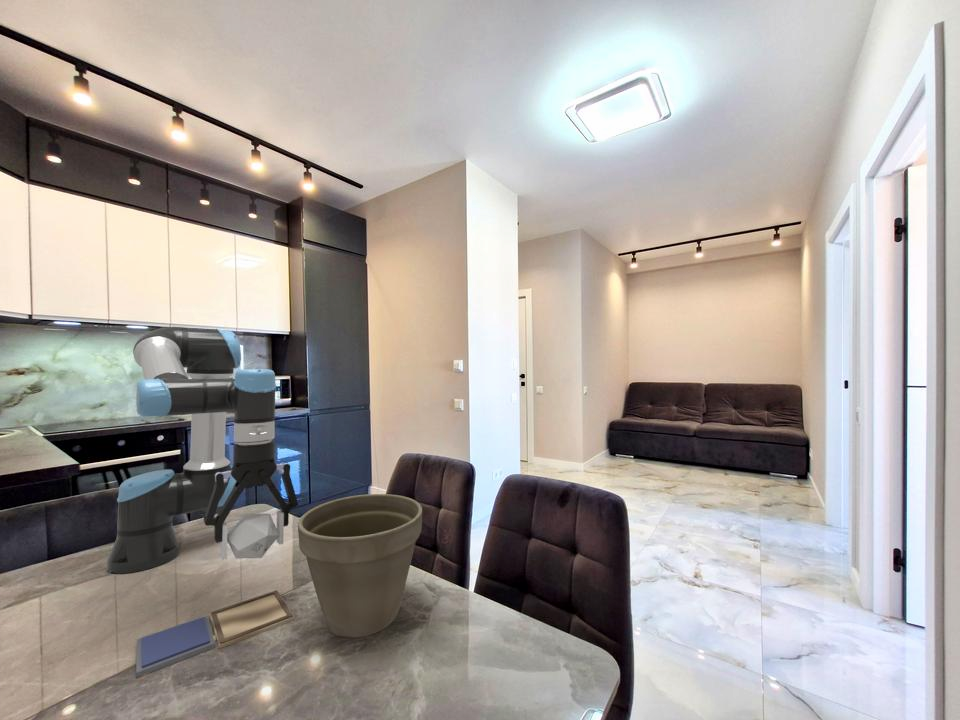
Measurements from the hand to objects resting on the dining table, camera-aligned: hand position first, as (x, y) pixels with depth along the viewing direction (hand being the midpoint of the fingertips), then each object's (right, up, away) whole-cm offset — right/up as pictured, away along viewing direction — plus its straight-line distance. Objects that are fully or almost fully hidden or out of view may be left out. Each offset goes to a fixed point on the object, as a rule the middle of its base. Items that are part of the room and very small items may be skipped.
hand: (252, 549), depth 82 cm
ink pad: (-9, -14, -9) cm, 19 cm away
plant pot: (+23, -14, 0) cm, 27 cm away
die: (0, -1, 0) cm, 1 cm away
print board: (0, -14, -1) cm, 14 cm away
